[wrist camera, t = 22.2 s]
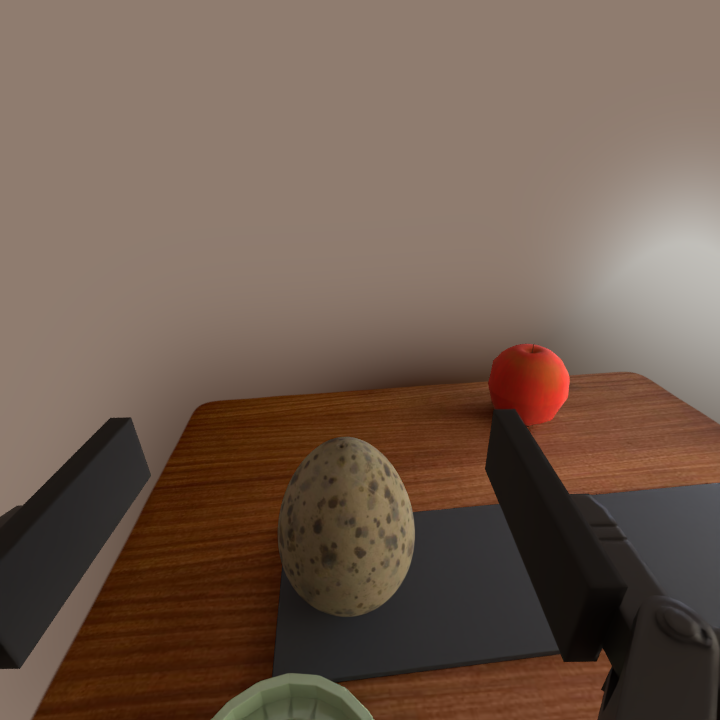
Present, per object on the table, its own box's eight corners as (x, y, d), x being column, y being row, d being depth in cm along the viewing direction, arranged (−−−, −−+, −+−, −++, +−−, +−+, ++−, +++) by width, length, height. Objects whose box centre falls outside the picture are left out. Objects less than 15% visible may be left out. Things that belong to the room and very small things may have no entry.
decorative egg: (430, 560, 36) (440, 426, 29) (376, 682, 28) (373, 533, 21) (332, 516, 41) (321, 392, 34) (260, 608, 32) (228, 468, 26)
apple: (575, 426, 54) (595, 351, 49) (517, 445, 51) (532, 366, 46) (523, 392, 63) (535, 324, 58) (470, 406, 60) (478, 336, 54)
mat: (272, 690, 28) (271, 686, 28) (286, 528, 40) (285, 524, 40) (880, 613, 31) (884, 609, 31) (720, 486, 44) (722, 482, 44)
